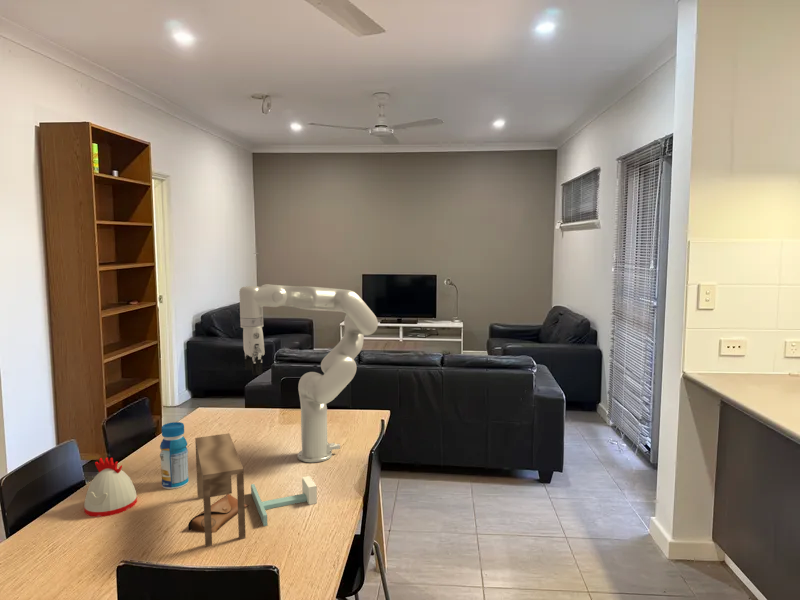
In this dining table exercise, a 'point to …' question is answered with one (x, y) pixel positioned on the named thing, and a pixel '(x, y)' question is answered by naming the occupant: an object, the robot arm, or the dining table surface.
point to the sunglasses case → (217, 514)
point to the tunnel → (218, 477)
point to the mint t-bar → (286, 498)
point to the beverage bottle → (174, 456)
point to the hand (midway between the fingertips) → (253, 371)
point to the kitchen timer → (109, 491)
